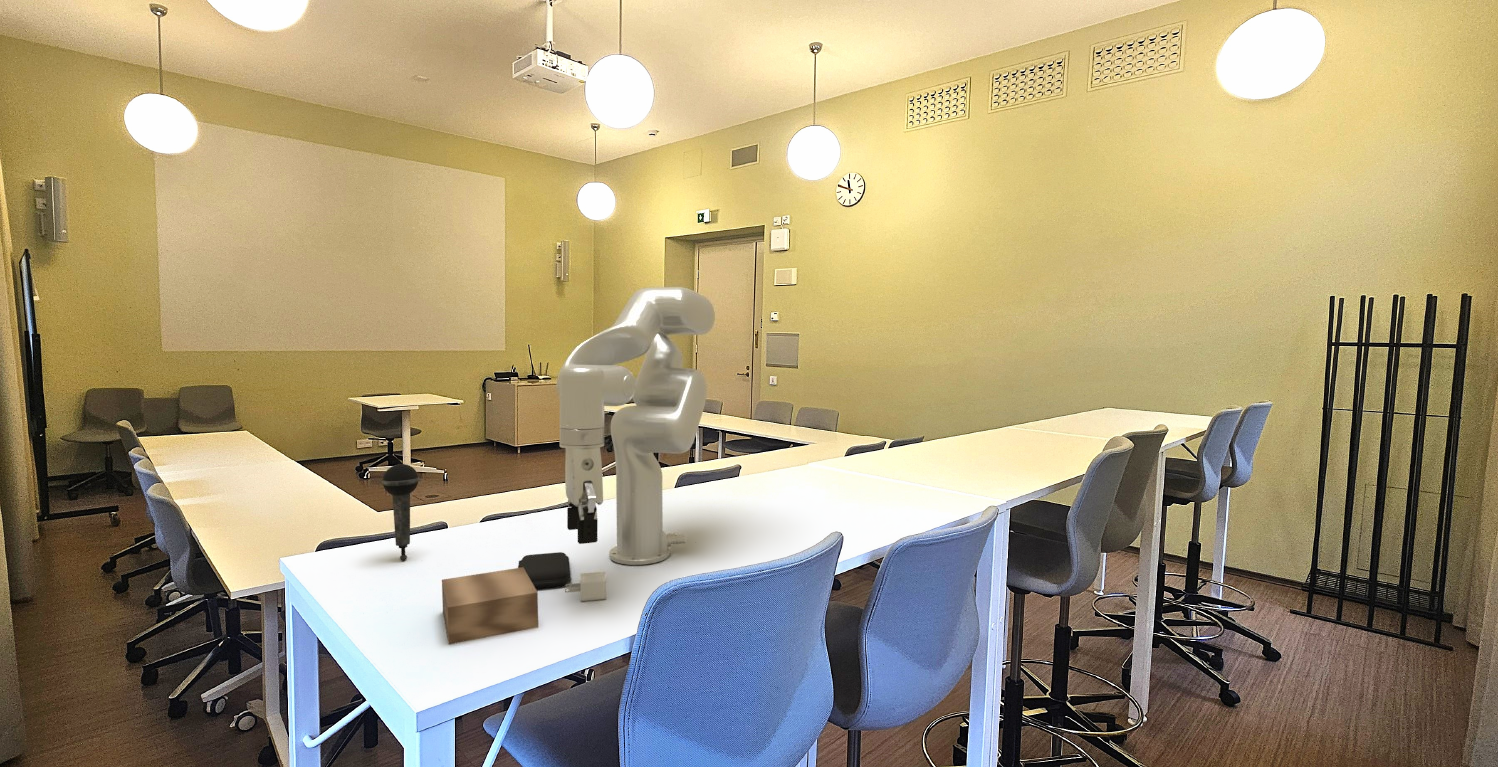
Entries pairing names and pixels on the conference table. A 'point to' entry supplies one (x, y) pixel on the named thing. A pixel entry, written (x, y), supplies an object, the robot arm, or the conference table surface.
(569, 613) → the conference table surface
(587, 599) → the usb wall charger
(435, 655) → the conference table surface
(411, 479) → the microphone
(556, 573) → the carrying case or bag
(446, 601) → the walnut block
